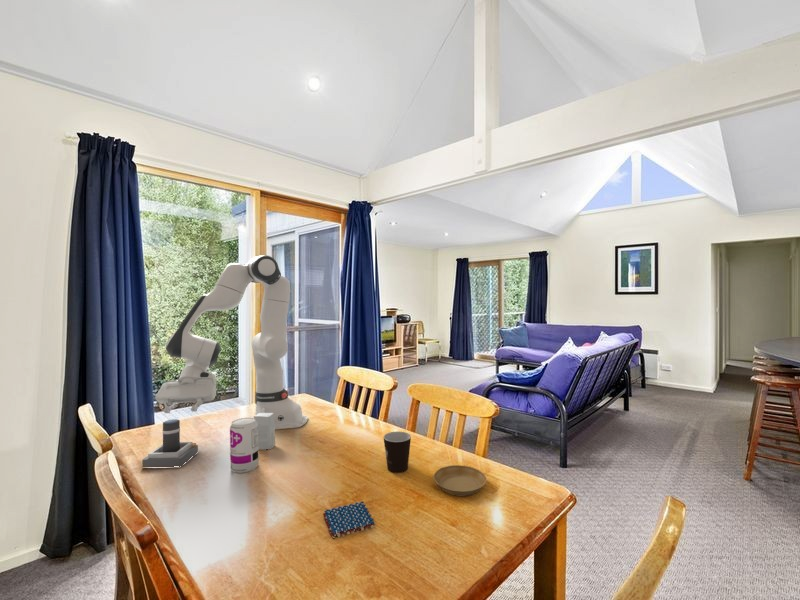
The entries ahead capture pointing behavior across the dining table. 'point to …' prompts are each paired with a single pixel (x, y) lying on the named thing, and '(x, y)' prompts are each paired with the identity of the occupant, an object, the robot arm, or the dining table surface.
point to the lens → (171, 435)
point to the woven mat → (348, 519)
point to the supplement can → (244, 445)
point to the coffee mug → (397, 451)
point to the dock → (170, 456)
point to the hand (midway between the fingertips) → (180, 411)
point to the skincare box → (265, 430)
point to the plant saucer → (459, 480)
